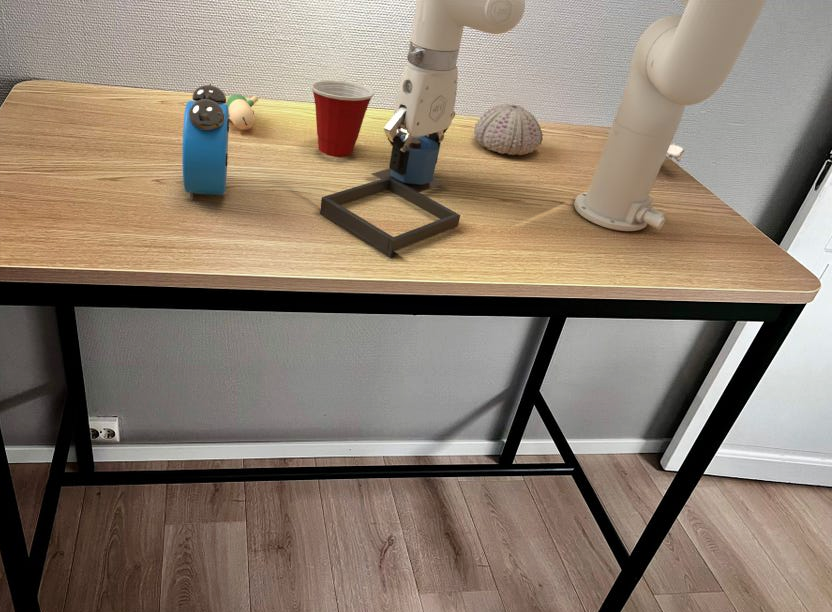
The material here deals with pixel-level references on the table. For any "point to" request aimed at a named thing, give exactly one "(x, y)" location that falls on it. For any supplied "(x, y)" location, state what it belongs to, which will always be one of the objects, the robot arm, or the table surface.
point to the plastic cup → (339, 114)
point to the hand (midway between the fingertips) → (413, 165)
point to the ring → (419, 162)
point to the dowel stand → (419, 188)
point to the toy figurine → (241, 111)
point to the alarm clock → (205, 142)
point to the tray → (375, 235)
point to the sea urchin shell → (508, 130)
